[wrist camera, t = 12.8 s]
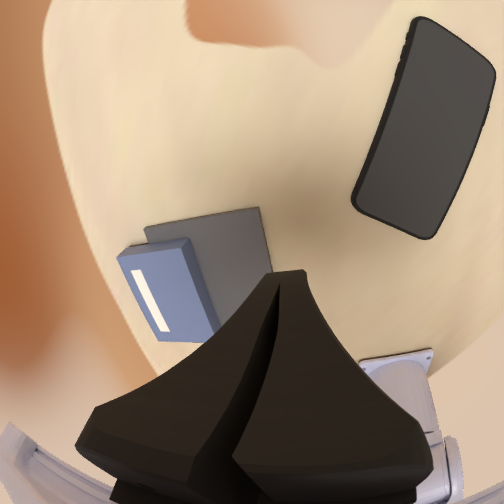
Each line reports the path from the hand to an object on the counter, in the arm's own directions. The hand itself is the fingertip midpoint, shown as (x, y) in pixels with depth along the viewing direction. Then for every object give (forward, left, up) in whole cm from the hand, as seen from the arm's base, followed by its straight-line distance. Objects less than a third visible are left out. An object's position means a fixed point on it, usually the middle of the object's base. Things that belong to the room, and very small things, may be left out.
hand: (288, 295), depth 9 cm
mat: (-6, +7, -10) cm, 14 cm away
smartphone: (+4, -10, -10) cm, 15 cm away
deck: (-6, +8, -9) cm, 13 cm away
